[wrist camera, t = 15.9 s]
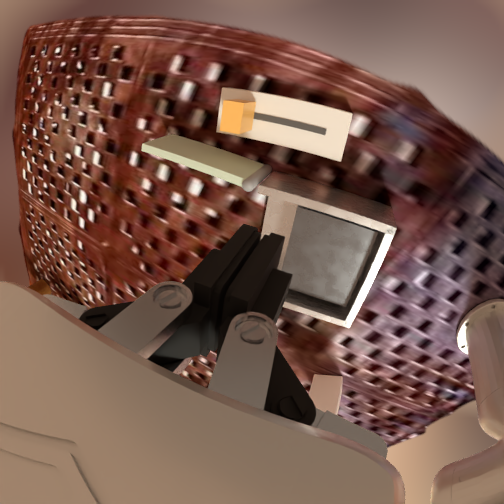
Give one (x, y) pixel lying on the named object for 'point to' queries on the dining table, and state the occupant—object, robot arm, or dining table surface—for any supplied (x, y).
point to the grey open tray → (326, 244)
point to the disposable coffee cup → (41, 287)
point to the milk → (326, 392)
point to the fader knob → (237, 116)
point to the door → (209, 160)
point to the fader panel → (293, 123)
